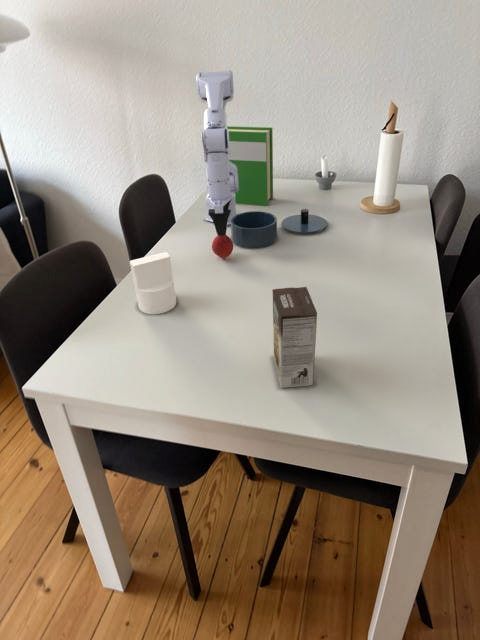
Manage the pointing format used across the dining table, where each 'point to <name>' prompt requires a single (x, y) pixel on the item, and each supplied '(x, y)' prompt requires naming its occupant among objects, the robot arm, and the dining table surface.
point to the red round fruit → (222, 246)
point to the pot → (254, 229)
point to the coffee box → (294, 336)
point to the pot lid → (304, 223)
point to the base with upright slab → (154, 283)
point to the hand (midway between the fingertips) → (222, 229)
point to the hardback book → (252, 163)
